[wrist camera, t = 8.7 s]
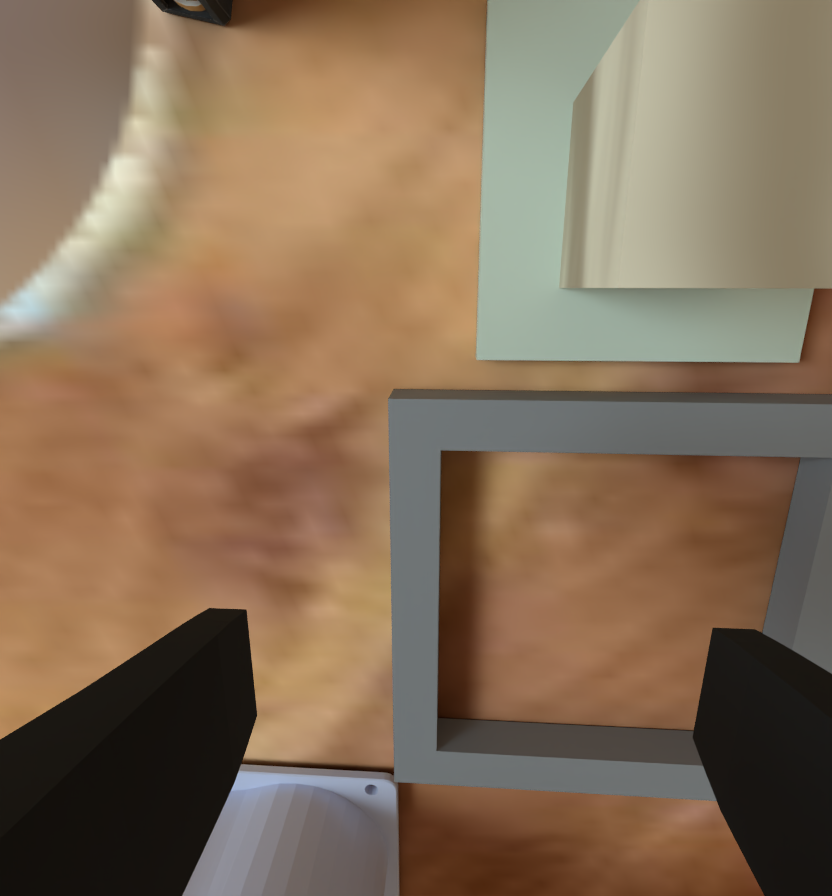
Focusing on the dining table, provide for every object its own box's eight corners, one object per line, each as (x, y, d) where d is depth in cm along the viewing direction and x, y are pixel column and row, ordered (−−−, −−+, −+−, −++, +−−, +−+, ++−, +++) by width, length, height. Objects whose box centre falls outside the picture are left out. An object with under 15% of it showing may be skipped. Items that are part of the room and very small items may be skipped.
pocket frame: (398, 747, 21) (394, 781, 19) (393, 389, 17) (388, 398, 15) (775, 768, 20) (800, 805, 18) (867, 394, 16) (909, 405, 14)
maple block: (558, 287, 15) (617, 288, 10) (573, 102, 13) (650, -16, 8) (726, 288, 14) (882, 288, 9) (757, 98, 13) (958, -27, 8)
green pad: (475, 357, 16) (476, 359, 15) (487, -1, 13) (488, -13, 13) (786, 359, 16) (799, 362, 15) (860, -14, 13) (879, -28, 12)
